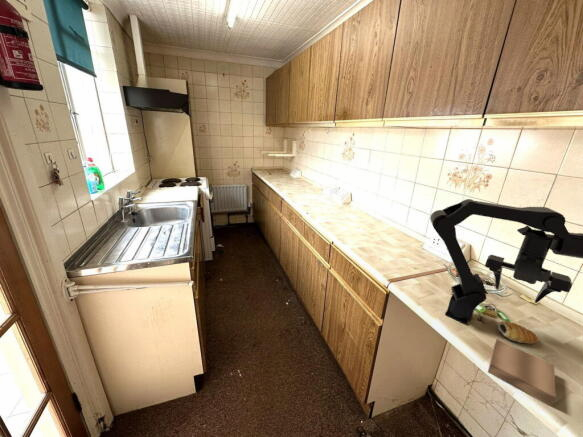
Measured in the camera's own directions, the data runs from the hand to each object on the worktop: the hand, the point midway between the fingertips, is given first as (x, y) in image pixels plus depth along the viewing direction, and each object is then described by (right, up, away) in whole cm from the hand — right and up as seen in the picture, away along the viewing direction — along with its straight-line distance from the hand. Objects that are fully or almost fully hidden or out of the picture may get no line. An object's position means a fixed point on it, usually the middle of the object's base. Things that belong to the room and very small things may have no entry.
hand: (515, 295), depth 77 cm
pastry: (+2, -15, -2) cm, 16 cm away
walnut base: (-10, -17, -11) cm, 23 cm away
